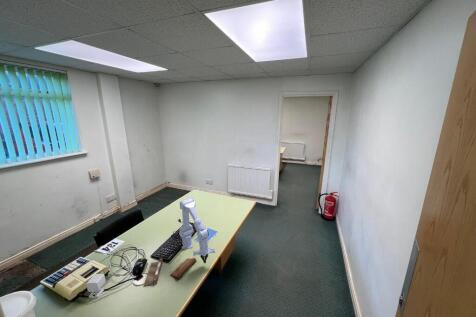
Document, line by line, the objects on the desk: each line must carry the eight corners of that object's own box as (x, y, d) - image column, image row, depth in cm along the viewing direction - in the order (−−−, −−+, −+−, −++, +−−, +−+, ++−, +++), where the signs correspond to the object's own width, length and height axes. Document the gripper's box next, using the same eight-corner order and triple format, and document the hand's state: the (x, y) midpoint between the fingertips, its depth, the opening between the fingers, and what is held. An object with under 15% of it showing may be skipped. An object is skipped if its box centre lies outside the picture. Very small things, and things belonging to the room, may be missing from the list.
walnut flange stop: (151, 263, 132) (150, 259, 131) (162, 262, 133) (162, 257, 132) (143, 286, 115) (142, 281, 114) (156, 284, 116) (155, 279, 115)
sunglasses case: (187, 257, 137) (190, 252, 134) (194, 264, 135) (197, 259, 133) (168, 276, 122) (171, 270, 119) (176, 284, 120) (179, 279, 117)
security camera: (107, 286, 115) (104, 273, 112) (99, 297, 108) (95, 284, 105) (96, 287, 114) (93, 274, 112) (88, 298, 108) (84, 284, 105)
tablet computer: (205, 245, 150) (204, 244, 150) (193, 240, 156) (193, 239, 156) (218, 232, 167) (218, 231, 166) (207, 228, 173) (207, 227, 172)
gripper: (192, 251, 121) (193, 268, 124) (214, 248, 123) (215, 265, 126) (193, 244, 127) (194, 260, 131) (214, 241, 130) (214, 257, 133)
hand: (204, 262), depth 129 cm, fingers closed
